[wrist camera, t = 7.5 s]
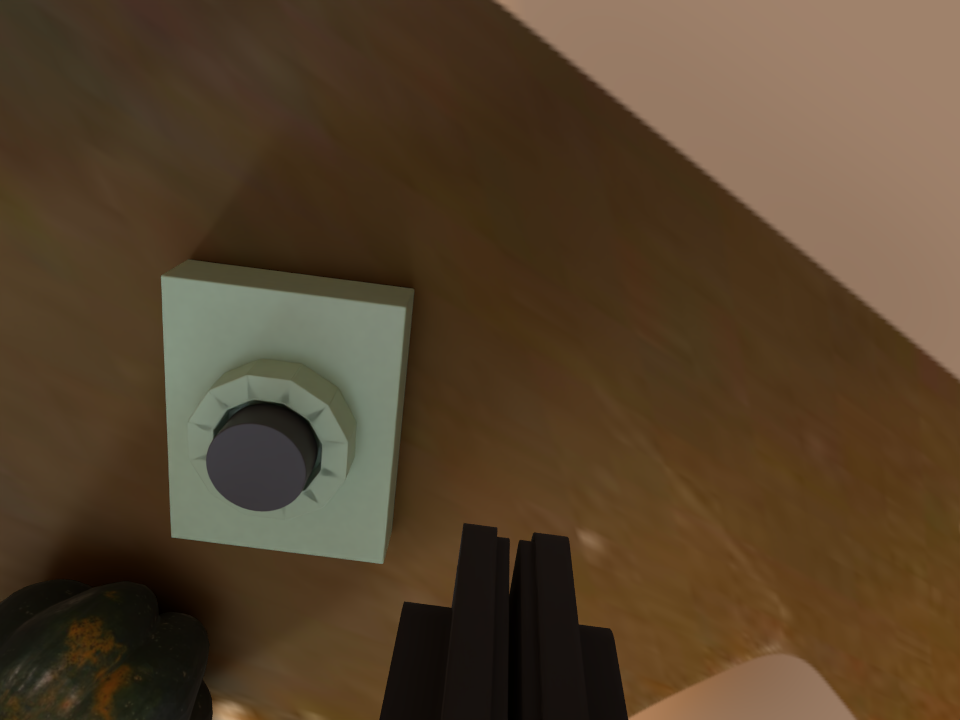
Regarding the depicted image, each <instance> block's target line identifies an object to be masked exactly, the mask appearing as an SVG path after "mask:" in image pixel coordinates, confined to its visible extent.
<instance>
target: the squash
mask: <svg viewBox="0 0 960 720" xmlns="http://www.w3.org/2000/svg"><path fill="white" fill-rule="evenodd" d="M208 654H209V641H208V636H207V632H206V630H205V628H204V626H203V625H202V623H201V622H200V621H199V620H197V619H196V618H194V617H192V616H191V615H187V614H183V613H177V612H168V613H163V614H160V615H159V613H158V604H157V599H156V596H155V595H154V593H153V592H152V591H151V590H150V589H149V588H148V587H147V586H145V585H143V584H138V583H133V582H128V581H122V582H117V583H111V584H107V585H103V586H99V587H94V588H92V587H91V586H89V585H87V584H84V583H81V582H77V581H74V580H64V579H57V580H50V581H45V582H40V583H36V584H33V585H30V586H27V587H24V588H23V589H21V590H19V591H17V592H15V593H13V594H12V595H10V596H9V597H8V598H6V599H5V600H4V601H2V602H1V603H0V720H212V715H213V711H212V698H211V695H210V692H209V689H208V687H207V686H206V684H205V682H204V681H203V676H204V673H205V670H206V665H207V660H208Z"/></svg>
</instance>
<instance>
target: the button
mask: <svg viewBox="0 0 960 720" xmlns="http://www.w3.org/2000/svg"><path fill="white" fill-rule="evenodd" d="M317 453H318V452H317V442H316V439H315V436H314V434H313V432H312V430H311V428H310V427H309V425H308V424H307V423H306V422H305V421H304V420H303V419H302V418H301V417H300V416H299V415H297V414H296V413H295V412H293V411H291V410H289V409H287V408H285V407H282V406H279V405H275V404H267V403H262V404H254V405H250V406H247V407H244V408H242V409H240V410H239V411H237V412H236V413H235V414H234V415H233V416H232V417H231V418H230V419H229V420H228V421H227V423H226V424H225V425H224V426H223V428H222V429H221V430H220V431H219V433H218V434H217V435H216V436H215V438H214V439H213V440H212V442H211V444H210V445H209V448H208V451H207V455H206V467H207V472H208V475H209V478H210V480H211V482H212V484H213V485H214V487H215V488H216V490H217V491H218V492H219V493H220V494H221V495H222V496H223V497H224V498H226V499H227V500H228V501H230V502H231V503H233V504H235V505H237V506H239V507H241V508H244V509H248V510H252V511H261V512H264V511H273V510H277V509H281V508H283V507H285V506H287V505H289V504H290V503H292V502H293V501H294V500H295V499H296V498H297V497H298V496H299V495H300V493H301V492H302V490H303V488H304V486H305V484H306V482H307V480H308V478H309V476H310V474H311V472H312V470H313V468H314V466H315V463H316V460H317Z"/></svg>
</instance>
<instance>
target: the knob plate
mask: <svg viewBox="0 0 960 720" xmlns="http://www.w3.org/2000/svg"><path fill="white" fill-rule="evenodd" d="M161 285H162V311H163V337H164V363H165V389H166V414H167V440H168V466H169V492H170V518H171V537H173V538H181V539H189V540H197V541H205V542H213V543H221V544H229V545H237V546H245V547H253V548H261V549H268V550H276V551H284V552H292V553H300V554H308V555H316V556H324V557H332V558H340V559H348V560H356V561H364V562H372V563H380V564H383V563H384V559H385V555H386V551H387V547H388V543H389V540H390V536H391V532H392V524H393V513H394V502H395V492H396V481H397V470H398V460H399V449H400V438H401V428H402V417H403V406H404V396H405V385H406V374H407V364H408V353H409V343H410V332H411V321H412V311H413V300H414V289H412V288H404V287H396V286H389V285H381V284H373V283H365V282H358V281H350V280H342V279H335V278H327V277H319V276H312V275H304V274H296V273H288V272H281V271H273V270H265V269H258V268H250V267H242V266H235V265H227V264H219V263H211V262H204V261H196V260H187V261H185V262H183V263H182V264H180V265H178V266H176V267H175V268H173V269H171V270H170V271H168V272H166V273H165V274H163V275H162V276H161ZM262 403H267V404H275V405H279V406H282V407H285V408H287V409H289V410H291V411H293V412H295V413H296V414H297V415H299V416H300V417H301V418H302V419H303V420H304V421H305V422H306V423H307V424H308V425H309V427H310V428H311V430H312V432H313V434H314V436H315V439H316V442H317V452H318V453H317V460H316V463H315V466H314V468H313V470H312V472H311V474H310V476H309V478H308V480H307V482H306V484H305V486H304V488H303V490H302V492H301V493H300V495H299V496H298V497H297V498H296V499H295V500H294V501H293V502H292V503H290V504H289V505H287V506H285V507H283V508H281V509H277V510H273V511H264V512H261V511H252V510H248V509H244V508H241V507H239V506H237V505H235V504H233V503H231V502H230V501H228V500H227V499H226V498H224V497H223V496H222V495H221V494H220V493H219V492H218V491H217V490H216V488H215V487H214V485H213V484H212V482H211V480H210V478H209V475H208V472H207V467H206V455H207V451H208V448H209V445H210V444H211V442H212V440H213V439H214V438H215V436H216V435H217V434H218V433H219V431H220V430H221V429H222V428H223V426H224V425H225V424H226V423H227V421H228V420H229V419H230V418H231V417H232V416H233V415H234V414H235V413H236V412H237V411H239V410H240V409H242V408H244V407H247V406H250V405H254V404H262Z"/></svg>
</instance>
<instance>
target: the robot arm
mask: <svg viewBox="0 0 960 720" xmlns="http://www.w3.org/2000/svg"><path fill="white" fill-rule="evenodd" d="M509 549H510V540H509V538H502V537H497V527H489V526H482V525H474V524H466V523H464V524H463V531H462V538H461V545H460V552H459V559H458V566H457V573H456V580H455V587H454V594H453V601H452V608H449V607H441V606H434V605H426V604H419V603H411V602H404V604H403V608H402V612H401V617H400V622H399V627H398V632H397V637H396V641H395V646H394V651H393V656H392V661H391V666H390V671H389V676H388V680H387V685H386V690H385V695H384V700H383V705H382V710H381V715H380V720H628V716H627V710H626V704H625V699H624V693H623V687H622V681H621V675H620V670H619V664H618V658H617V652H616V646H615V640H614V637H613V633H612V631H611V630H610V629H608V628H601V627H593V626H586V625H579V624H578V615H577V606H576V597H575V588H574V579H573V571H572V562H571V553H570V544H569V538H568V537H565V536H557V535H549V534H542V533H533V536H532V540H531V541H524V540H520V541H519V544H518V549H517V554H516V560H515V566H514V571H513V577H512V583H511V588H510V594H509Z"/></svg>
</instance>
